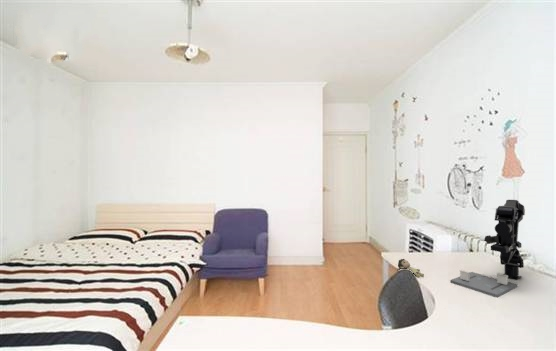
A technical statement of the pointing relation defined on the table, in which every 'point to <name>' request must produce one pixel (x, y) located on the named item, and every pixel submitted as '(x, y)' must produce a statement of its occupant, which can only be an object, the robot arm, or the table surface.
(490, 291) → the console
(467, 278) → the fader
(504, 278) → the fader
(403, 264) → the figurine
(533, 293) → the table surface
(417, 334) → the table surface
